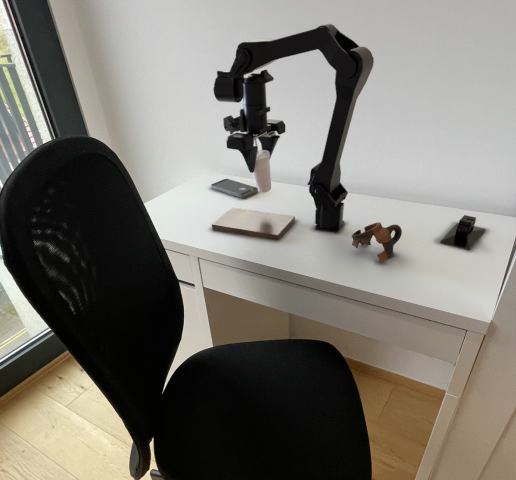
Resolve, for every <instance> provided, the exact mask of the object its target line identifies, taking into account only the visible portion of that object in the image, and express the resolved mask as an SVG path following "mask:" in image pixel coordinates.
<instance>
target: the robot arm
mask: <svg viewBox="0 0 516 480" xmlns="http://www.w3.org/2000/svg"><path fill="white" fill-rule="evenodd" d="M317 50H318V51H319V52H321V54H322V56H323V57H324V59H325V61H326V62H327V64H328V65H329V66H330V67H332V68H333V70H335V78H334V87H335V102H334V107H333V111H332V115H331V119H330V123H329V127H328V131H327V136H326V139H325V140H326V141H325V144H324V148H323V153H322V157H321V161H320V162H319V163H317V164H316V165H315V166H313V167H312V168H311V169H310V173H309V180H308V182H307V183H306V185H307V186H308V193H309V194H310V196H311V198H312V199H313V203H314V206H315V210H314V211H315V212H314V213H315V214H314V215H315V217H314V224H315V225H314V229H315V230H317V231H324V232H331V233H339V231H340V230H341V228H342V227H343V226H344V224H345V220H344V208H345V202H343V201H345V200H346V198H347V196H348V194H349V192H348V191H347V189H346V188H345V186H344V185H343V184H342V183H341V177H342V169H341V159H342V156H343V152H344V148H345V144H346V140H347V137H348V133H349V129H350V125H351V122H352V119H353V114H354V111H355V107H356V103H357V100H358V98H359V96H360V95H361V93H362V91H363V89H364V87H365V86H366V83H367V81H368V80H369V77H370V74H371V73H372V70H373V67H374V62H375V60H374V59H375V58H374V56H373V54H372V52H371V51H370V49H369V48H368V47H366V46H360V45H359V44H358V43H357V42H355V40H353V39H352V38H350V37H349V36H347V35H346V34H344V33H343V32H341V31H340V30H339V29H338V28H337V27H336V26H335V25H334V24H332V23H326V24H321V25H318V26H317V27H315V28H313V29H309V30H305V31H301V32H298V33H295V34H290V35H287V36H284V37H280V38H255V39H251V40H247V41H243V42H240V43H239V44H238V45H237V47H236V51H235V57H234V59H233V62H232V65H231V67H230V70H227V69H218V70H216V77H215V79H214V83H213V95H214V98H215V99H216V101H218V102H221V103H223V102H224V103H239V104H240V103H241V102H242V103H243V107H242V108H240V110H239V116H236V117H234V116H233V115H232V114H231V115H228V116H225V117H223V118H222V119H223V120H222V121H223V129H224V131H225V132H229V135H228V136H227V137H226V139H225V143H226V149H227V150H236V151H238V152H240V154H241V155H242V157H243V159H244V161H245V164H246V167H247V169H248V171H249V173H251V174H253V172H254V169H255V163H256V156H257V149H258V150H259V147H257V146H258V145H257V146H255V141H254V140H255V139H256V140H258V141H259V143H260V146H261V150H267V151H269V152H270V158H269V160H270V161H271V158H272V156H273V153H274V150H275V148H276V146H277V143H278V141H279V139H281V135H282V134H285V133H286V123H285V121H284V120H282V119H281V120H280V119H272V118H271V119H270V118H268V113H270V112H271V106H267V105H268V104H267V87H266V85H267V84H268V83H270V82H273V81H274V80H275V78H274V77H273V76H272V74H271V73H270V72H269V71H268V69H262V68H265V67H267V66H269V65H271V64H272V63H274V62H276V61H278V60H280V59H284V58H288V57H292V56H297V55H300V54H305V53H309V52H313V51H317ZM260 69H262V70H261V71H260V73H254V72H255V71H257V70H260ZM245 75H248V76H247V77H245ZM276 133H277V134H276Z"/></svg>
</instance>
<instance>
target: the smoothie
mask: <svg viewBox="0 0 516 480" xmlns="http://www.w3.org/2000/svg"><path fill="white" fill-rule="evenodd" d="M254 146H257V147H258V140H257V139H255V140H254ZM269 158H270V152H269V151H267V150H262V149H259V147H258V149H257V156H256V163H255V169H254V172H253V173H252V176H253V179H254V182H255V184H256V188H258V193H268V192H270V191H271V190H272V177H271V176H272V175H271V162H270V161H271V158H270V160H269Z"/></svg>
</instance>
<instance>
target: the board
mask: <svg viewBox="0 0 516 480" xmlns="http://www.w3.org/2000/svg"><path fill="white" fill-rule="evenodd" d="M295 222H296V216H295V215H288V214H282V213H275V212H267V211H261V210H260V211H259V210H252V209H247V208H246V209H245V208H238V207H231V208H229V209H228V210H227V211H226V212H225V213H223V214H222V215H221V216H220V217H219V218H218V219H217V220H215V221H214V222H212V224H211V229H212V230H214V231H219V232H224V233H232V234H238V235H243V236H250V237H256V238H262V239H268V240H274V241H279V240H280V239H281V238H282V237H283V236H284V234H285V233H286V232H287V231H288V230H289V229H290V228H291V227H292V225H293V224H294V223H295Z"/></svg>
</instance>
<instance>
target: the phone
mask: <svg viewBox="0 0 516 480" xmlns="http://www.w3.org/2000/svg"><path fill="white" fill-rule="evenodd" d="M210 188H211V189H213V190H216V191H219V192H222V193H226V194H228V195H231V196H234V197H237V198H241V199H245V198H247V197H249V196H252V195H254V194H256V193H259V191H258V188H257V186H254V185H253V186H252V185H250V184H247V183H244V182H243V183H242V182H240V181H237V180H233V179H229V178H224V179H221V180H218V181H215V182H213V183H211V185H210Z"/></svg>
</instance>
